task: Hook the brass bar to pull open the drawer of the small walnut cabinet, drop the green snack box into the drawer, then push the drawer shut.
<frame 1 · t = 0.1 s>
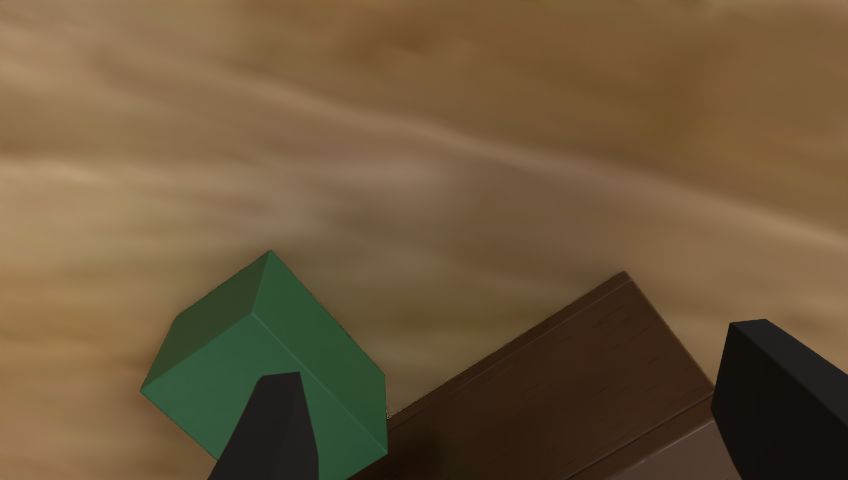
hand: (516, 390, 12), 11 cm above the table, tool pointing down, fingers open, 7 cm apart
snack box: (283, 346, 23), on the table
cabinet: (545, 477, 26), on the table
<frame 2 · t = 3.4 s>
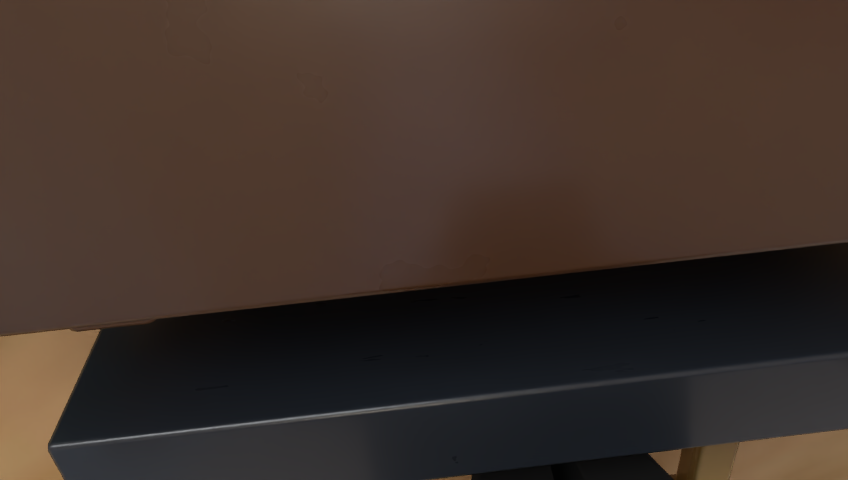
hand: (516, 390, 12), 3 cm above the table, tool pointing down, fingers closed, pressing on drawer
drawer: (532, 53, 8), point 4 cm above the table, slide at 2.0 cm, touching gripper
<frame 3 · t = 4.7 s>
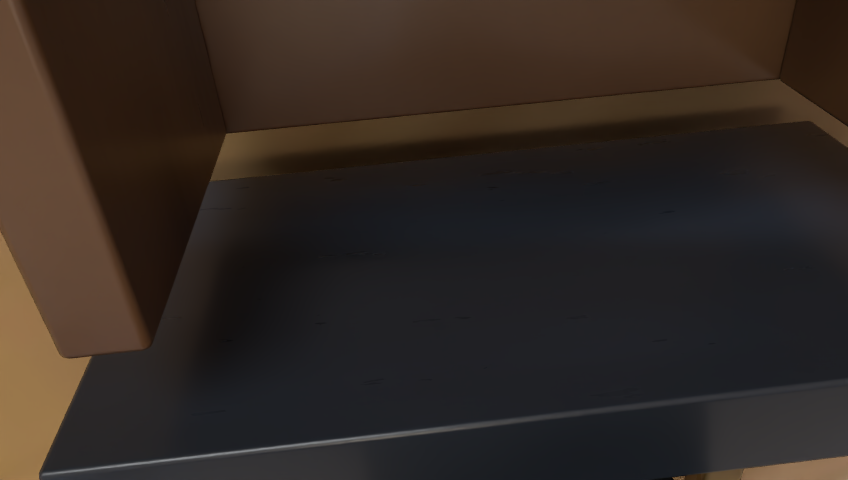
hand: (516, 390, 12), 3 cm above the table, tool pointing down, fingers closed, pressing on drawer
drawer: (538, 68, 8), point 4 cm above the table, slide at 7.7 cm, touching gripper
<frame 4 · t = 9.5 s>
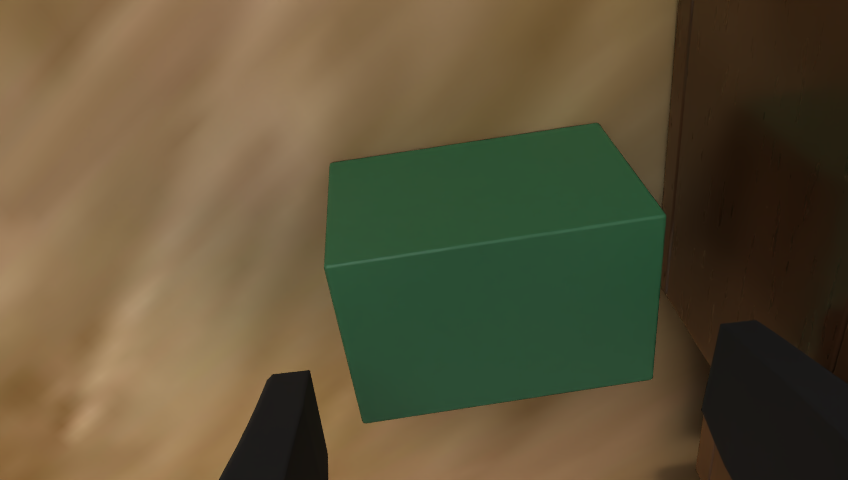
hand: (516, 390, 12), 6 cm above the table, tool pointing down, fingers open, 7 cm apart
snack box: (471, 218, 16), on the table
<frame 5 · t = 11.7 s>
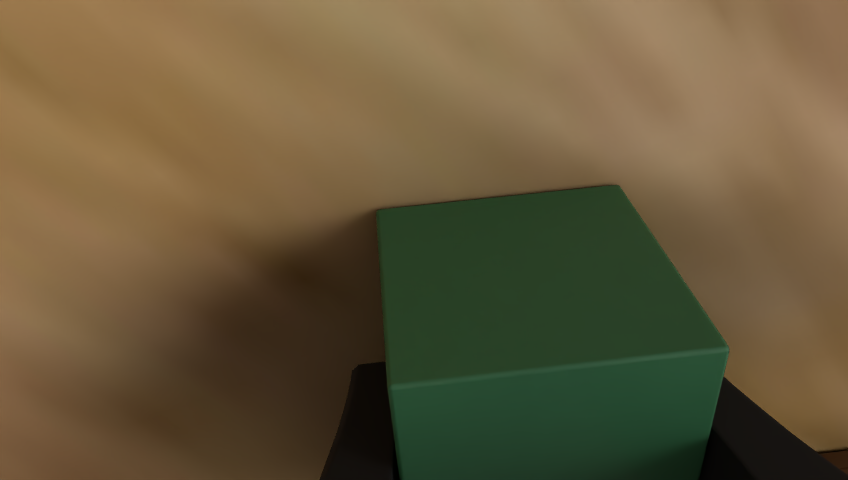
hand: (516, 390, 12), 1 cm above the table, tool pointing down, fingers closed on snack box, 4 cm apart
snack box: (499, 335, 13), on the table, touching gripper
when the fingers open (6 cm above the table, at t = 15.9 s): snack box drops 3 cm, resting on drawer.
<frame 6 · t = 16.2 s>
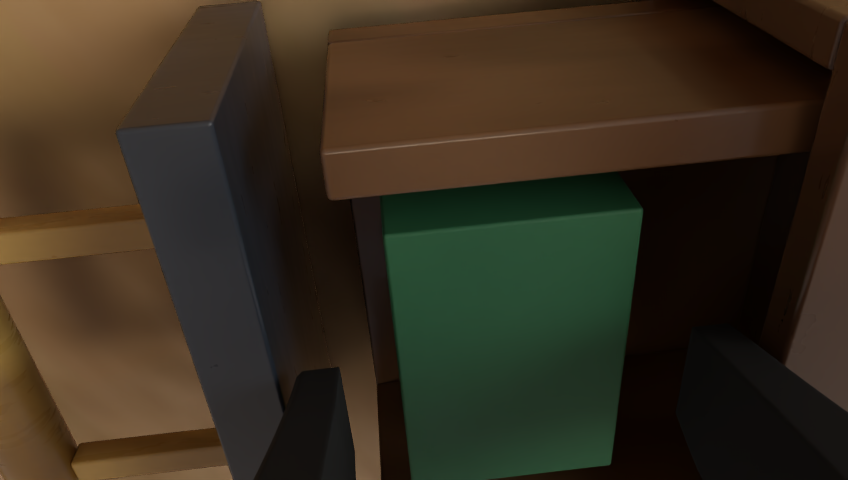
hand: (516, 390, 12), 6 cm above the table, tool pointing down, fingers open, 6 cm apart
snack box: (478, 241, 15), point 2 cm above the table, touching drawer
drawer: (418, 299, 14), point 4 cm above the table, slide at 7.7 cm, touching snack box
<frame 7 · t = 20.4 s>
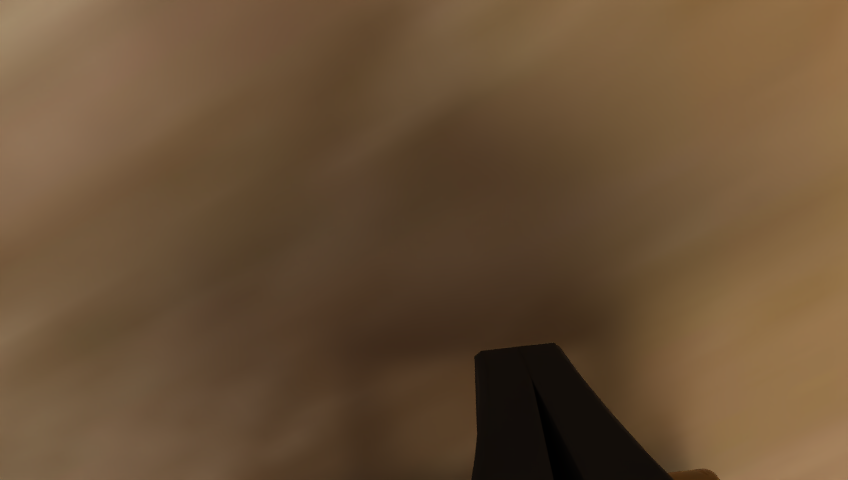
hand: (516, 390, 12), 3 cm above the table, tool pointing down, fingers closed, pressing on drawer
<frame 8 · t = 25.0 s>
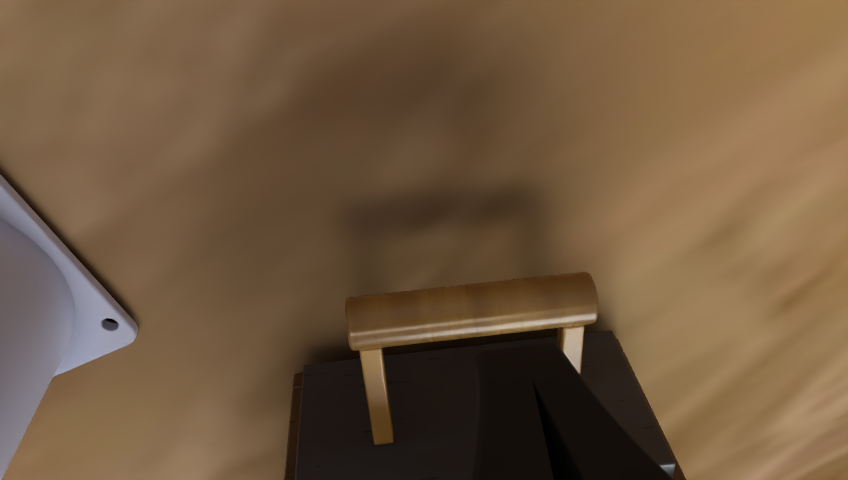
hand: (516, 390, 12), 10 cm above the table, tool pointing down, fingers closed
cabinet: (463, 474, 29), on the table
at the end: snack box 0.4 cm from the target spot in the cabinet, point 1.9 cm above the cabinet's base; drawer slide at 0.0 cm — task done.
